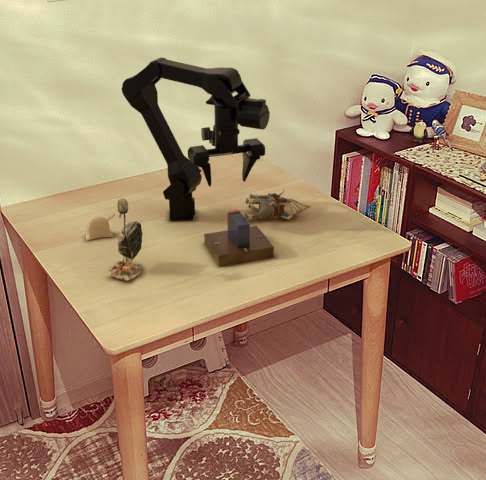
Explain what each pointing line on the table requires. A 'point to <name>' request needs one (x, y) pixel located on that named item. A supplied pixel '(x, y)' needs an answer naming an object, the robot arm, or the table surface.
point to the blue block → (238, 229)
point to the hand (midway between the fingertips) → (226, 183)
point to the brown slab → (231, 254)
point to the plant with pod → (127, 246)
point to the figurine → (273, 206)
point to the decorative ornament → (98, 227)
